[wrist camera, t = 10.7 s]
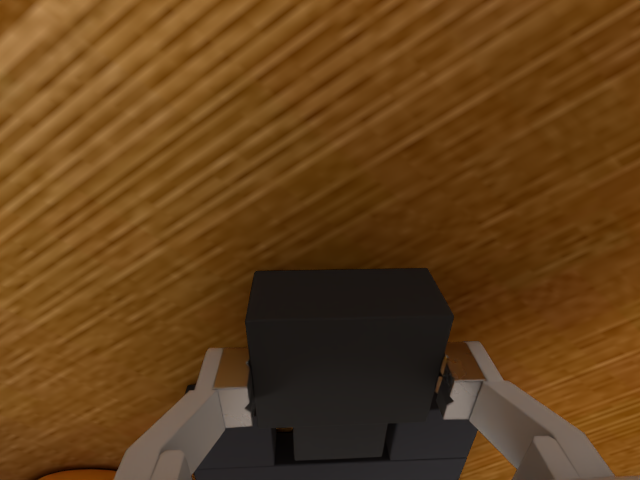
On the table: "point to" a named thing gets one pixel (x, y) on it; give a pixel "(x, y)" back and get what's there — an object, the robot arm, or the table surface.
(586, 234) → the table surface
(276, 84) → the table surface
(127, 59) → the table surface
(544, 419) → the robot arm
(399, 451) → the base tile
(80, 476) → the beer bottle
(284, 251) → the table surface
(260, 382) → the black block
